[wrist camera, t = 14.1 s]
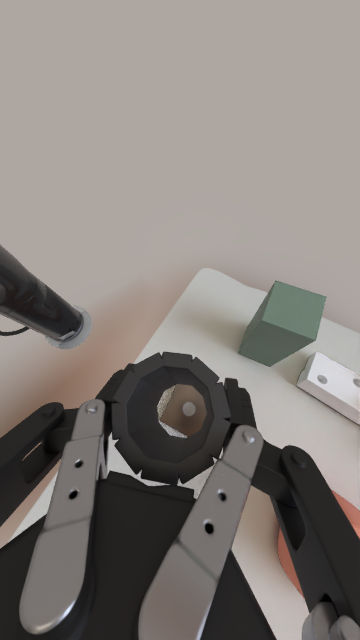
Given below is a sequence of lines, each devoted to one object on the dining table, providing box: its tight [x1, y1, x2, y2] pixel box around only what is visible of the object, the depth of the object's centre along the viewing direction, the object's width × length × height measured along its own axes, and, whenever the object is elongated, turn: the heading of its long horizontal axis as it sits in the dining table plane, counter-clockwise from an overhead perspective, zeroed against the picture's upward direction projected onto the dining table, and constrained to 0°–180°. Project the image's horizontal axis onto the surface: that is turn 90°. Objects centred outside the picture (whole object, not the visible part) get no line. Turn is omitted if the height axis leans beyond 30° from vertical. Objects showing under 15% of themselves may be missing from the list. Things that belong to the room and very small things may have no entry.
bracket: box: [297, 352, 360, 425], centre depth 36 cm, size 13×7×8 cm, turn 53°
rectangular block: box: [238, 281, 326, 367], centre depth 36 cm, size 7×7×18 cm
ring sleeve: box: [111, 352, 231, 486], centre depth 13 cm, size 6×6×8 cm
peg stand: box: [160, 384, 207, 437], centre depth 36 cm, size 9×9×10 cm
